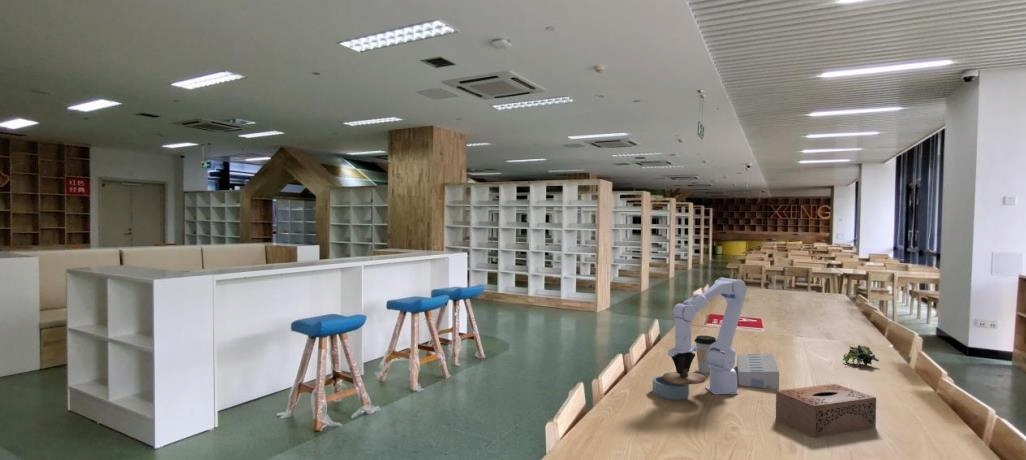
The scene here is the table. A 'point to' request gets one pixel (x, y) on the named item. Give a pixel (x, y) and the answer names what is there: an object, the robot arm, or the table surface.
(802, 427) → the tissue box cover
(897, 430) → the table surface
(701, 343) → the coffee cup
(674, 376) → the lid
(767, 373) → the warehouse
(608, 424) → the table surface
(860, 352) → the green leafy clump
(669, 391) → the bowl
